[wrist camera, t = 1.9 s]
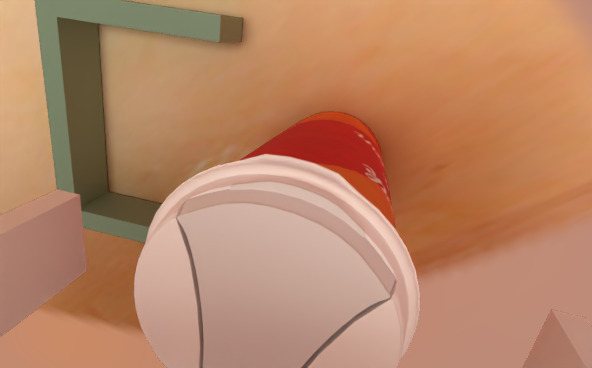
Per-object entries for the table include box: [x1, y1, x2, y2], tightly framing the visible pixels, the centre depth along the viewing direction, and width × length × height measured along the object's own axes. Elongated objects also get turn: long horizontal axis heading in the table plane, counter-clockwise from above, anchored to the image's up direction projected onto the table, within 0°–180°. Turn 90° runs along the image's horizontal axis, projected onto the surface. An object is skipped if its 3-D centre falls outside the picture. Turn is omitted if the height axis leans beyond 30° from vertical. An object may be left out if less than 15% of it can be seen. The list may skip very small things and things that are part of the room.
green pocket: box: [35, 0, 243, 243], centre depth 22 cm, size 10×13×3 cm
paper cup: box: [134, 112, 420, 368], centre depth 16 cm, size 8×8×14 cm
